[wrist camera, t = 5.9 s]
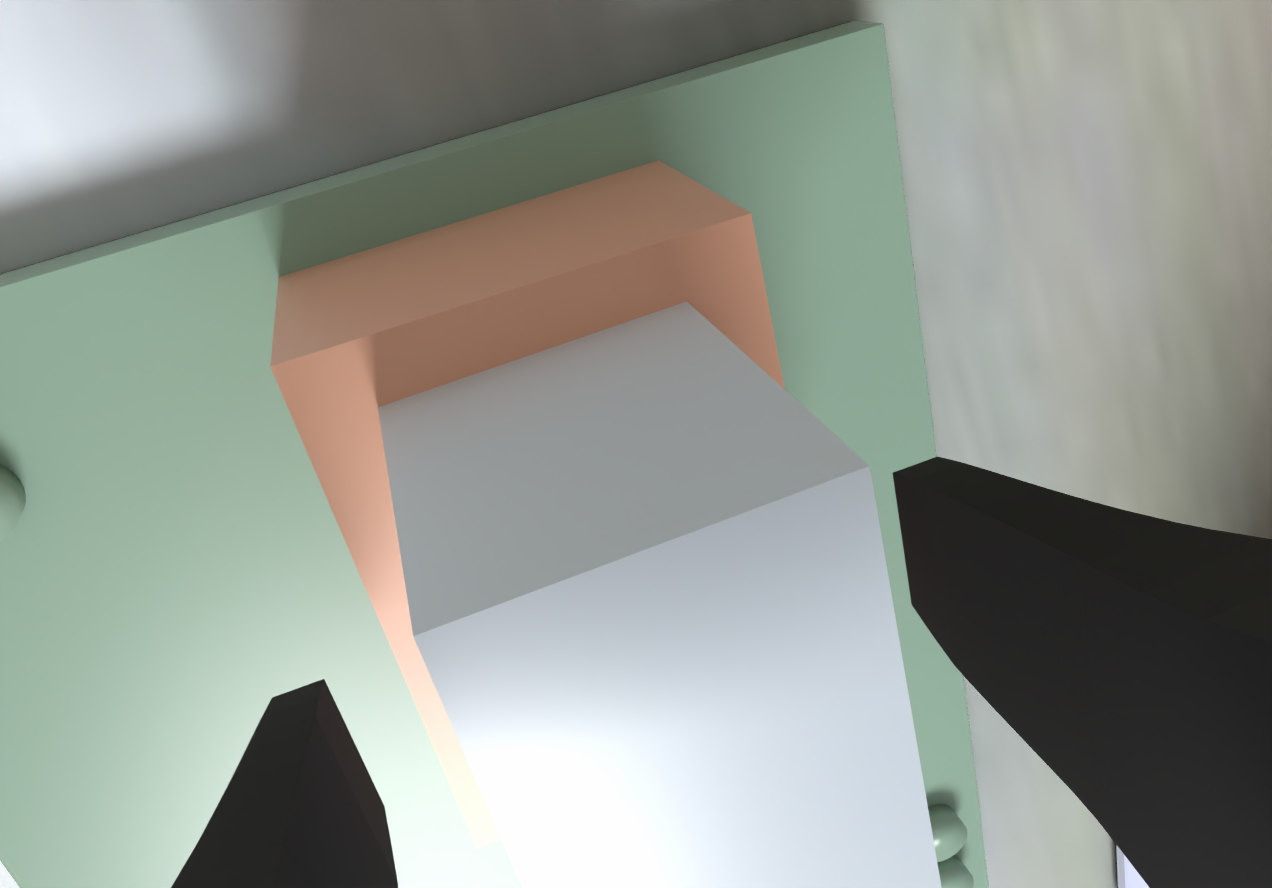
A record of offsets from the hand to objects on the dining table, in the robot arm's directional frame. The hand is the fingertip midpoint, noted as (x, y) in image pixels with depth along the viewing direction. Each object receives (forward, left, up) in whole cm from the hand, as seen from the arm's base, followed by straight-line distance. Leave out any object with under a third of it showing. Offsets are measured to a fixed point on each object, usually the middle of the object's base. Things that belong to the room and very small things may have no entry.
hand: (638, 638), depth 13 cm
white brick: (0, 0, -2) cm, 2 cm away
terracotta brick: (0, 0, -7) cm, 7 cm away
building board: (+2, +5, -7) cm, 9 cm away
